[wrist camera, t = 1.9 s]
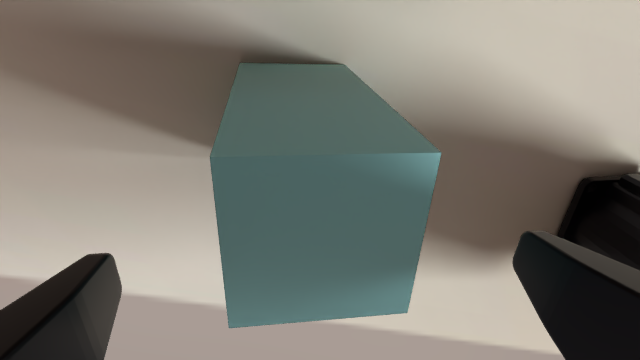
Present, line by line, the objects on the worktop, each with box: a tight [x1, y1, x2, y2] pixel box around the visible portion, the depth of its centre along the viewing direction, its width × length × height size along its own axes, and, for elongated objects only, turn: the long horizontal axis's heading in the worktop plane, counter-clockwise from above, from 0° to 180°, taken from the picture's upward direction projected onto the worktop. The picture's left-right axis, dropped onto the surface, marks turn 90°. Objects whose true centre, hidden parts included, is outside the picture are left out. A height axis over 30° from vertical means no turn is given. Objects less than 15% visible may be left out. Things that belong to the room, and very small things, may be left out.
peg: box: [210, 63, 441, 328], centre depth 12 cm, size 5×5×10 cm
